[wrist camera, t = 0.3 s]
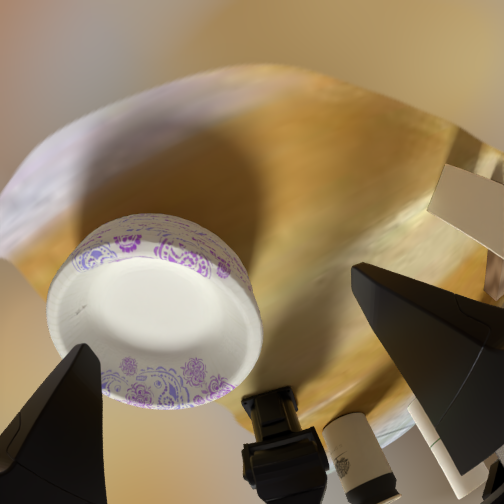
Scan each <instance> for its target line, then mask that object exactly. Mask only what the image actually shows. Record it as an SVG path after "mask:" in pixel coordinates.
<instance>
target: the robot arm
mask: <svg viewBox="0 0 504 504" xmlns="http://www.w3.org/2000/svg"><path fill="white" fill-rule="evenodd" d="M351 287H352V291H353V294H354V296H355V298H356V299H357V301H358V303H359V305H360V307H361V309H362V311H363V313H364V314H365V316H366V318H367V320H368V322H369V324H370V326H371V328H372V330H373V331H374V333H375V334H376V336H377V337H378V339H379V340H380V342H381V343H382V345H383V346H384V348H385V349H386V351H387V352H388V354H389V355H390V357H391V358H392V360H393V361H394V363H395V365H396V366H397V368H398V369H399V371H400V372H401V374H402V375H403V377H404V379H405V380H406V382H407V383H408V385H409V387H410V388H411V390H412V391H413V393H414V395H415V396H416V398H417V400H418V401H419V403H420V404H421V406H422V408H423V409H424V411H425V413H426V414H427V416H428V418H429V419H430V421H431V423H432V425H433V426H434V428H435V430H436V432H437V434H438V435H439V437H440V439H441V441H442V442H443V444H444V446H445V448H446V449H447V451H448V453H449V455H450V457H451V459H452V460H453V462H454V464H455V466H456V468H457V470H458V472H459V473H460V475H461V476H463V475H464V474H466V473H467V472H469V471H470V470H472V469H473V468H474V467H476V466H477V465H479V464H480V463H481V462H483V461H484V460H485V459H487V458H488V457H489V456H491V455H492V454H493V453H494V452H495V453H496V455H497V456H498V459H497V460H496V461H495V462H494V463H493V464H492V465H491V467H490V471H489V475H488V478H487V482H486V486H485V489H484V492H483V496H482V498H483V500H484V501H483V502H482V503H481V504H504V308H500V307H496V306H492V305H489V304H486V303H482V302H479V301H476V300H473V299H470V298H467V297H464V296H461V295H458V294H454V293H453V292H450V291H447V290H444V289H441V288H438V287H435V286H433V285H430V284H427V283H424V282H421V281H418V280H415V279H412V278H409V277H406V276H403V275H400V274H398V273H395V272H392V271H389V270H386V269H383V268H380V267H377V266H374V265H371V264H367V263H364V262H362V263H359V264H356V265H353V266H352V268H351ZM241 403H242V406H243V407H244V409H245V411H246V412H247V414H248V416H249V417H250V419H251V420H252V424H253V429H254V434H255V438H256V442H255V443H250V444H248V443H247V444H243V445H244V449H243V450H242V457H243V478H244V479H245V480H246V481H248V482H249V484H250V485H251V487H252V489H257V493H258V496H259V497H260V498H261V499H262V500H263V501H264V502H265V503H266V504H322V501H323V498H324V495H325V491H326V488H327V475H326V472H325V471H328V470H329V463H328V459H327V456H326V453H325V450H324V448H323V446H322V443H321V441H320V439H319V437H318V434H317V432H316V430H315V428H314V426H313V427H310V428H308V429H305V430H302V429H301V426H300V423H299V420H298V417H297V414H296V412H297V411H298V408H297V405H296V401H295V398H294V395H293V392H292V389H291V387H290V386H287V387H284V388H281V389H278V390H274V391H271V392H268V393H264V394H261V395H257V396H254V397H250V398H246V399H243V400H242V401H241ZM102 413H103V400H102V382H101V363H100V360H99V358H98V357H97V356H96V354H95V353H94V352H93V350H92V349H91V348H90V346H89V345H88V344H86V343H81V344H77V345H75V346H74V347H73V348H72V349H71V350H70V352H69V353H68V354H67V355H66V356H65V357H64V358H63V360H62V361H61V362H60V363H59V364H58V365H57V366H56V368H55V369H54V370H53V371H52V372H51V373H50V375H49V376H48V377H47V378H46V379H45V381H44V382H43V383H42V384H41V385H40V387H39V388H38V389H37V390H36V392H35V393H34V394H33V395H32V397H31V398H30V399H29V400H28V401H27V403H26V404H25V405H24V406H23V408H22V409H21V410H20V412H19V413H18V414H17V415H16V417H15V418H14V419H13V420H12V422H11V423H10V424H9V425H8V427H7V428H6V429H5V430H4V431H3V433H2V434H1V435H0V504H107V497H106V487H105V476H104V461H103V435H102V433H103V430H102V429H103V427H102V425H103V423H102V422H103V421H102V420H103V419H102V418H103V414H102Z"/></svg>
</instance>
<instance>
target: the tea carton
mask: <svg viewBox="0 0 504 504" xmlns="http://www.w3.org/2000/svg"><path fill="white" fill-rule="evenodd" d="M427 211H428V212H430V213H431V214H433V215H435V216H436V217H438V218H440V219H441V220H443V221H444V222H446V223H448V224H449V225H451V226H452V227H454V228H456V229H457V230H459V231H461V232H462V233H464V234H466V235H467V236H469V237H470V238H472V239H474V240H475V241H477V242H478V243H480V244H481V245H483V246H485V247H486V248H488V249H489V250H491V251H492V252H494V253H495V254H496V255H498V256H499V257H501V258H502V259H504V185H502V184H500V183H497V182H495V181H492V180H490V179H487V178H485V177H482V176H480V175H477V174H474V173H472V172H469V171H466V170H463V169H460V168H458V167H455V166H452V165H449V164H446V163H445V166H444V169H443V171H442V174H441V177H440V179H439V182H438V184H437V187H436V189H435V192H434V194H433V197H432V199H431V201H430V204H429V206H428V208H427Z"/></svg>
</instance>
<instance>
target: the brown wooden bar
mask: <svg viewBox="0 0 504 504" xmlns="http://www.w3.org/2000/svg"><path fill="white" fill-rule="evenodd" d="M495 182H497V181H495ZM497 183H499V182H497ZM500 184H502V183H500ZM502 185H504V184H502ZM484 291H485V292H486V293H487V294H489V295H490V296H491V297H492V298H493V299H494V300H496V301H497V300H498V299H499V298H500V297H501V296H502V295H503V294H504V259H502V258H501V257H499V256H498V255H496V254H495V253H494V252H492V251H491V250H489V249H488V256H487V268H486V277H485V286H484Z"/></svg>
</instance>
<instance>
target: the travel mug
mask: <svg viewBox="0 0 504 504" xmlns="http://www.w3.org/2000/svg"><path fill="white" fill-rule="evenodd" d="M322 434H323V437H324V439H325V442H326V445H327V447H328V450H329V452H330V455H331V458H332V460H333V463H334V465H335V468H336V471H337V473H338V476H339V479H340V481H341V484H342V486H343V489H344V492H345V494H346V497H347V499H348V502H349V503H351V504H390V503H392V502H394V501H395V500H397V499H399V498H400V497H401V496H402V495H401V494H399V493H398V492H397V490H396V489H395V487H396V478H395V476H394V474H393V472H392V470H391V468H390V466H389V463H388V462H387V460H386V457H385V455H384V453H383V451H382V449H381V447H380V445H379V443H378V441H377V439H376V437H375V435H374V433H373V431H372V429H371V427H370V425H369V423H368V421H367V419H366V417H365V415H364V414H363V413H351V414H347V415H345V416H342V417H340V418H338V419H336V420H334V421H333V422H331V423H330V424H329V425H328V426H327V427H326V428H325V429H324V430H323V432H322Z"/></svg>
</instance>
